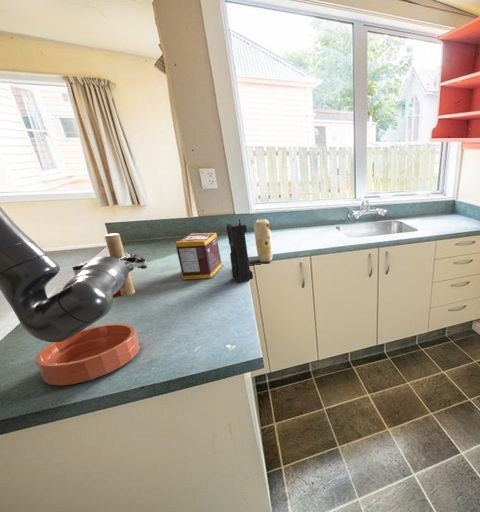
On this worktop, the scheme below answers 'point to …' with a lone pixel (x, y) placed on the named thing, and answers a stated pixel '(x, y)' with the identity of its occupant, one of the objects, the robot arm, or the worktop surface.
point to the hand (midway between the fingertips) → (121, 256)
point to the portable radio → (239, 252)
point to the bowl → (88, 354)
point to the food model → (263, 240)
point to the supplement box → (199, 255)
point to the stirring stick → (116, 251)
